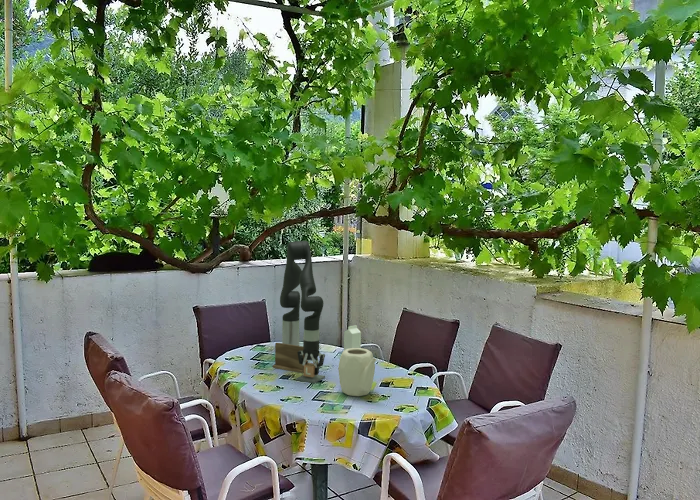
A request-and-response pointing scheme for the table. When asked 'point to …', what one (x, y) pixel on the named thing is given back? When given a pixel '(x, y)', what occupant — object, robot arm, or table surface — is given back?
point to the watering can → (356, 371)
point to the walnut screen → (288, 357)
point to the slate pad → (310, 378)
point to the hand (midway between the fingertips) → (310, 373)
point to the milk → (352, 337)
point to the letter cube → (309, 370)
